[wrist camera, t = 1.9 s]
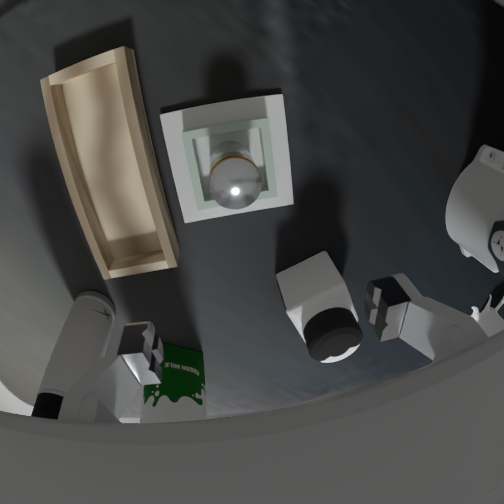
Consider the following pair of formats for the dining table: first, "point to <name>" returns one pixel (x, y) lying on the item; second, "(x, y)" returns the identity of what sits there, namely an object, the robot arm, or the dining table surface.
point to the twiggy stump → (489, 318)
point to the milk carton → (176, 388)
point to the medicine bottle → (320, 308)
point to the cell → (233, 176)
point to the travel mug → (75, 350)
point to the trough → (111, 163)
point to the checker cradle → (221, 130)
